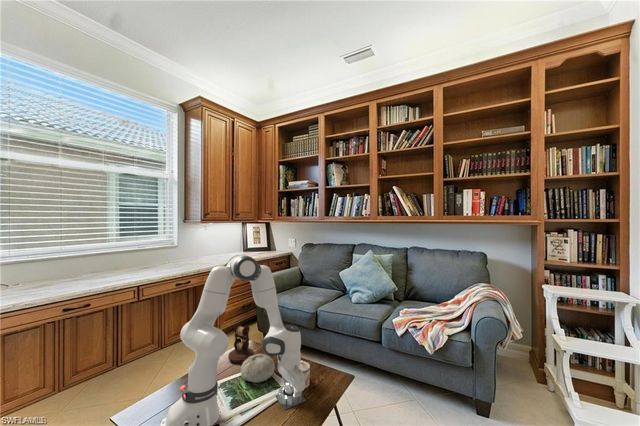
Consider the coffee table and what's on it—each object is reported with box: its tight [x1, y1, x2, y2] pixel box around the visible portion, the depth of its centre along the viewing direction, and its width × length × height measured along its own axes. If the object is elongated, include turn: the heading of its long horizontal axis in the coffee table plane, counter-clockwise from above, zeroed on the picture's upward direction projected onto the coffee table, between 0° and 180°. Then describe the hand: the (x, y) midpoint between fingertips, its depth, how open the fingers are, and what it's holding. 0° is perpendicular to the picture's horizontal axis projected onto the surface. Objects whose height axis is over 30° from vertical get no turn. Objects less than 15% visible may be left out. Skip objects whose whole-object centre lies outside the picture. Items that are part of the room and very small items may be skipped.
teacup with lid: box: [299, 360, 311, 389], centre depth 138 cm, size 12×9×12 cm
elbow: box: [285, 381, 294, 396], centre depth 125 cm, size 5×6×7 cm
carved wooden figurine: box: [227, 322, 255, 365], centre depth 160 cm, size 15×15×20 cm
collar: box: [275, 385, 307, 411], centre depth 125 cm, size 11×11×3 cm
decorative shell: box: [240, 353, 276, 384], centre depth 141 cm, size 18×18×10 cm
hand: (290, 390), depth 125 cm, fingers open, 8 cm apart
